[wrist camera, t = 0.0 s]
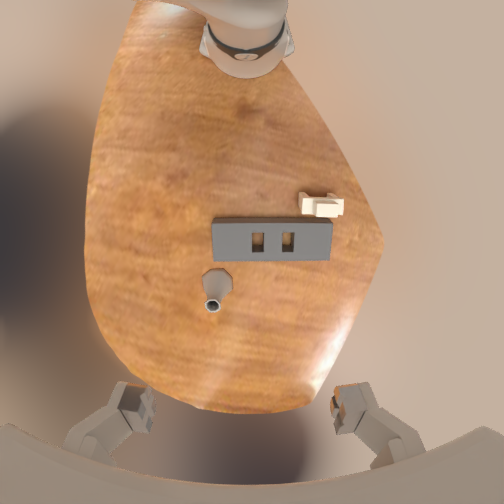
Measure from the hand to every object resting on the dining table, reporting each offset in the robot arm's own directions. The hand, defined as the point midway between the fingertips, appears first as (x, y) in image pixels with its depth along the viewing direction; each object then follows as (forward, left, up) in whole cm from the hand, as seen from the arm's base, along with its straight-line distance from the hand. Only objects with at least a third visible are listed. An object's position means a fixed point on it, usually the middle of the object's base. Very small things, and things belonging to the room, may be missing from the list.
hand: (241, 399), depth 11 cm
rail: (+9, +5, -48) cm, 49 cm away
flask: (+20, -7, -48) cm, 53 cm away
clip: (+1, +14, -48) cm, 50 cm away
